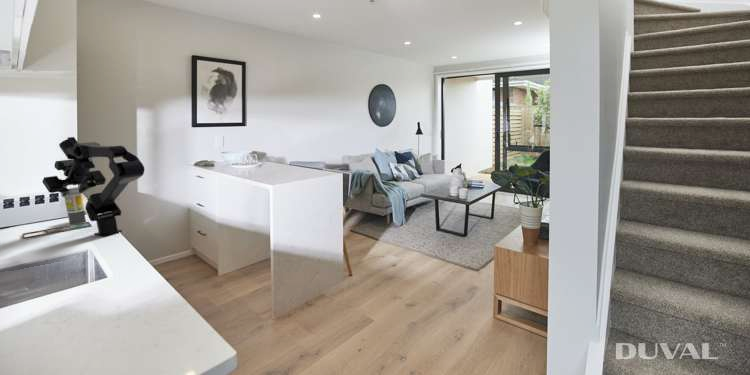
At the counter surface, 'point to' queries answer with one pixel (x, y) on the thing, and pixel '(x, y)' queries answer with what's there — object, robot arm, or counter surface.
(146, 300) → the counter surface
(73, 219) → the die
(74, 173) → the robot arm
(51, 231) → the board
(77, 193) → the supplement bottle
